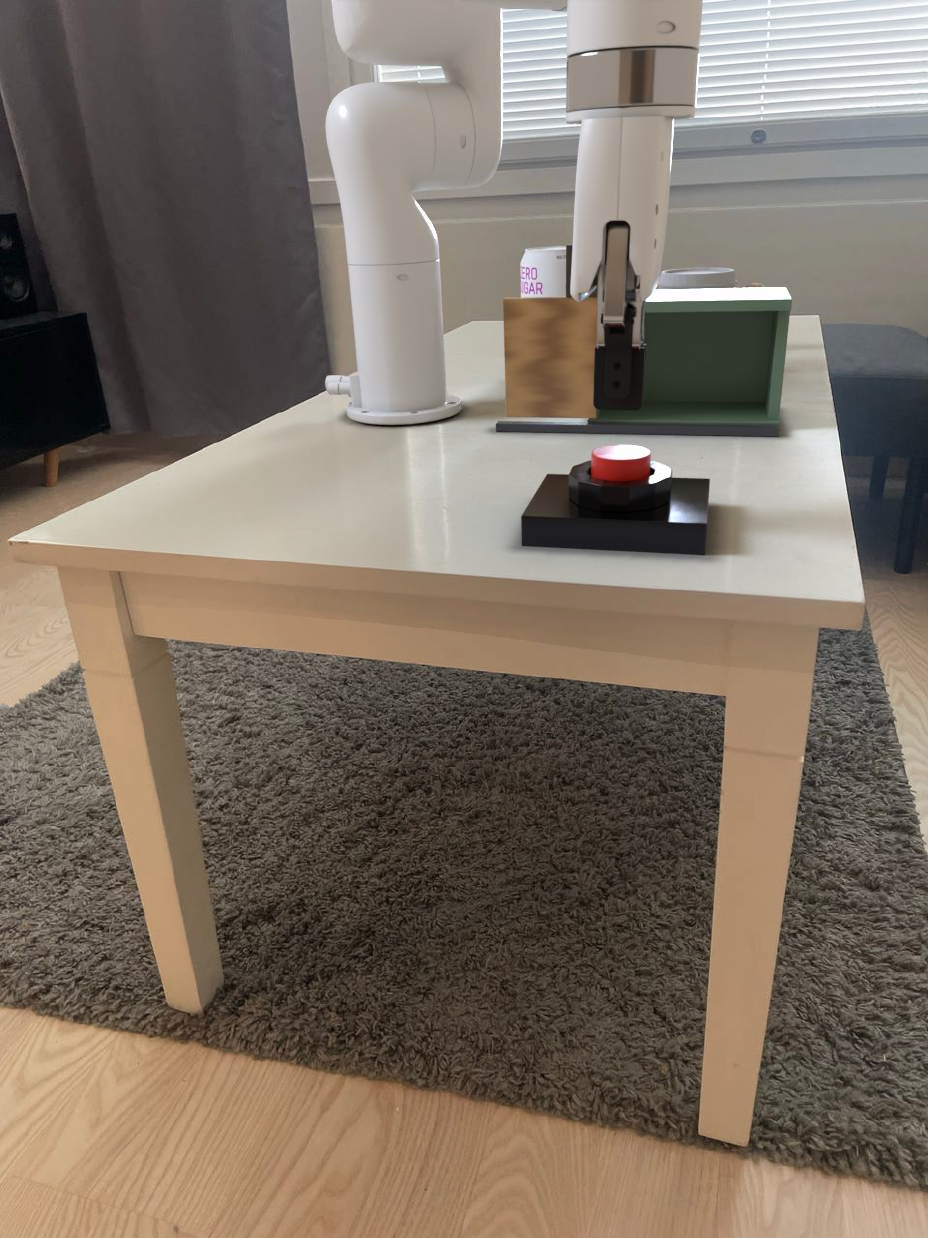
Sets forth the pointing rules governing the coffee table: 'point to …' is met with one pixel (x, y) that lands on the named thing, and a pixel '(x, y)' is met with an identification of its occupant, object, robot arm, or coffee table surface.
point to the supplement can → (543, 272)
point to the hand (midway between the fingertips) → (618, 406)
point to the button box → (619, 513)
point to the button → (620, 463)
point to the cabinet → (702, 367)
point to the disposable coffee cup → (697, 278)
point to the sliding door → (550, 354)
